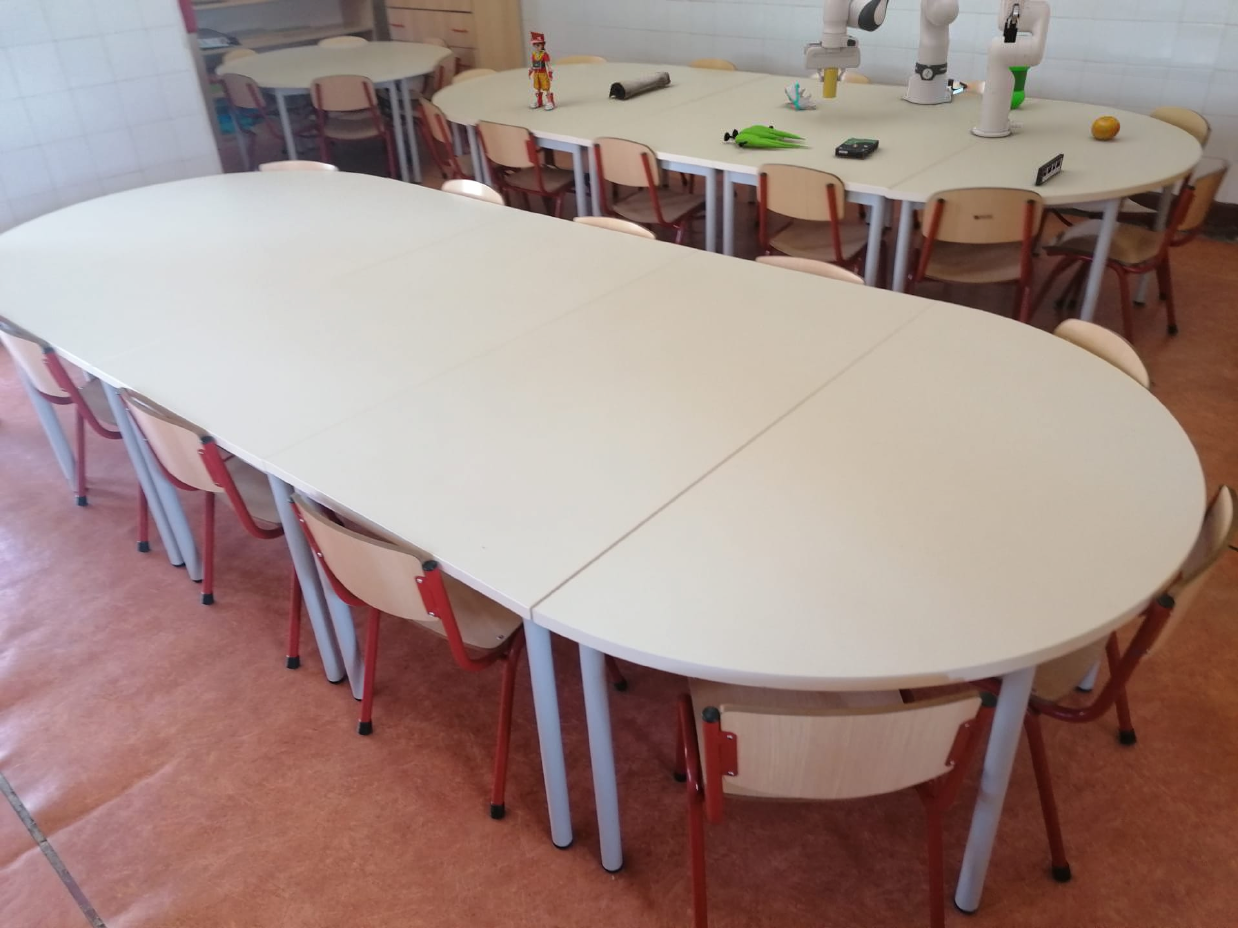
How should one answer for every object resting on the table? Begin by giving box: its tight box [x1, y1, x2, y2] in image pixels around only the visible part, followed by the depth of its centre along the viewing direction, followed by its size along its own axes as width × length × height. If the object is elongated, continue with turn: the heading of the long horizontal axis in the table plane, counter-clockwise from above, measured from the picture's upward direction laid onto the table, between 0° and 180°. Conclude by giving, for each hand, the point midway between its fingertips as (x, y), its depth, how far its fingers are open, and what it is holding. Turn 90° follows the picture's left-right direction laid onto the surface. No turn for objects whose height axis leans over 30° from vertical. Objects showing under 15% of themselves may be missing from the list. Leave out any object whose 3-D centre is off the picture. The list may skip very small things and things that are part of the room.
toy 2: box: [723, 124, 807, 148], centre depth 319 cm, size 28×5×30 cm
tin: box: [821, 68, 839, 99], centre depth 332 cm, size 5×5×10 cm
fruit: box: [1090, 115, 1121, 141], centre depth 303 cm, size 8×8×8 cm
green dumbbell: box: [1009, 66, 1031, 110], centre depth 337 cm, size 10×10×25 cm
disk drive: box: [834, 137, 880, 159], centre depth 305 cm, size 10×3×15 cm
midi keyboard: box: [1035, 153, 1065, 186], centre depth 273 cm, size 18×1×5 cm, turn 138°
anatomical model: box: [784, 80, 816, 111], centre depth 360 cm, size 15×10×10 cm
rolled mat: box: [608, 71, 672, 101], centre depth 395 cm, size 30×9×10 cm
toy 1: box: [527, 31, 556, 111], centre depth 374 cm, size 12×9×30 cm
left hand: (830, 81), depth 332 cm, fingers closed on tin, 5 cm apart
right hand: (1008, 39), depth 271 cm, fingers open, 9 cm apart
